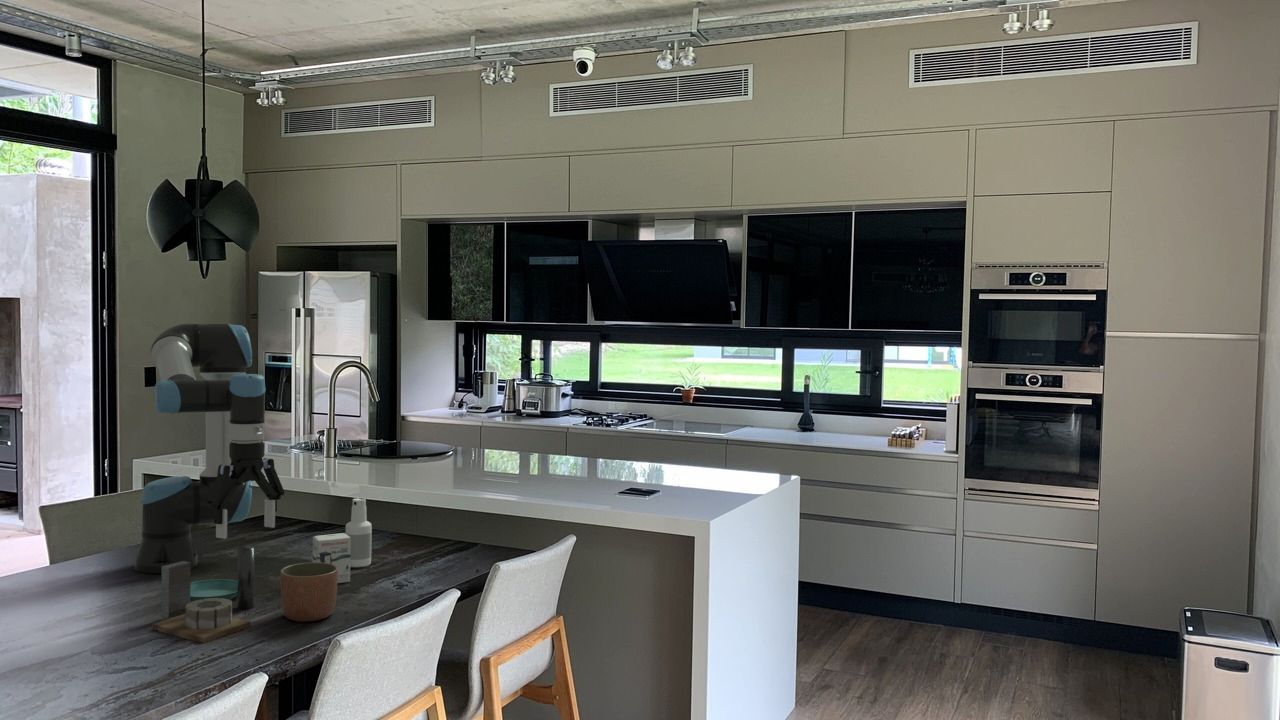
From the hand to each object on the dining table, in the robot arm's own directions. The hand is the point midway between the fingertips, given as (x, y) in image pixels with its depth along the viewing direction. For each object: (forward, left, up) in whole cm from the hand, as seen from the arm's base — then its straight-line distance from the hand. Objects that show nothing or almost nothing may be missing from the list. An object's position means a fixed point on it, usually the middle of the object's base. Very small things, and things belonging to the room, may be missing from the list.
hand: (246, 532), depth 222 cm
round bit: (0, 0, -18) cm, 18 cm away
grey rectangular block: (-7, -13, -18) cm, 23 cm away
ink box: (+1, +26, -18) cm, 32 cm away
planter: (+17, +3, -18) cm, 25 cm away
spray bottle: (-5, +42, -18) cm, 46 cm away
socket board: (+4, -15, -18) cm, 23 cm away
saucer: (-13, +1, -18) cm, 22 cm away
